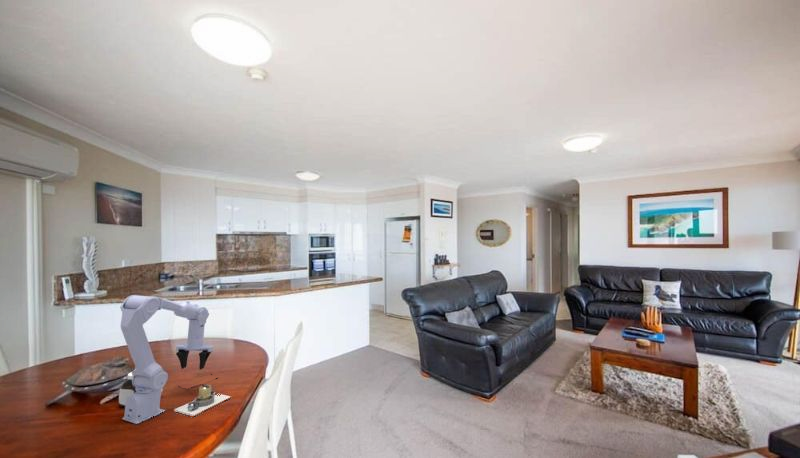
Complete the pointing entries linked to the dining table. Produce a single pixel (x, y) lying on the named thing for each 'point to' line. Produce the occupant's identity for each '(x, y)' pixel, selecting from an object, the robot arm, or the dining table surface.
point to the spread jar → (127, 390)
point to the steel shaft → (193, 405)
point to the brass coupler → (204, 393)
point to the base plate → (192, 413)
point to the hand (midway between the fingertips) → (192, 368)
